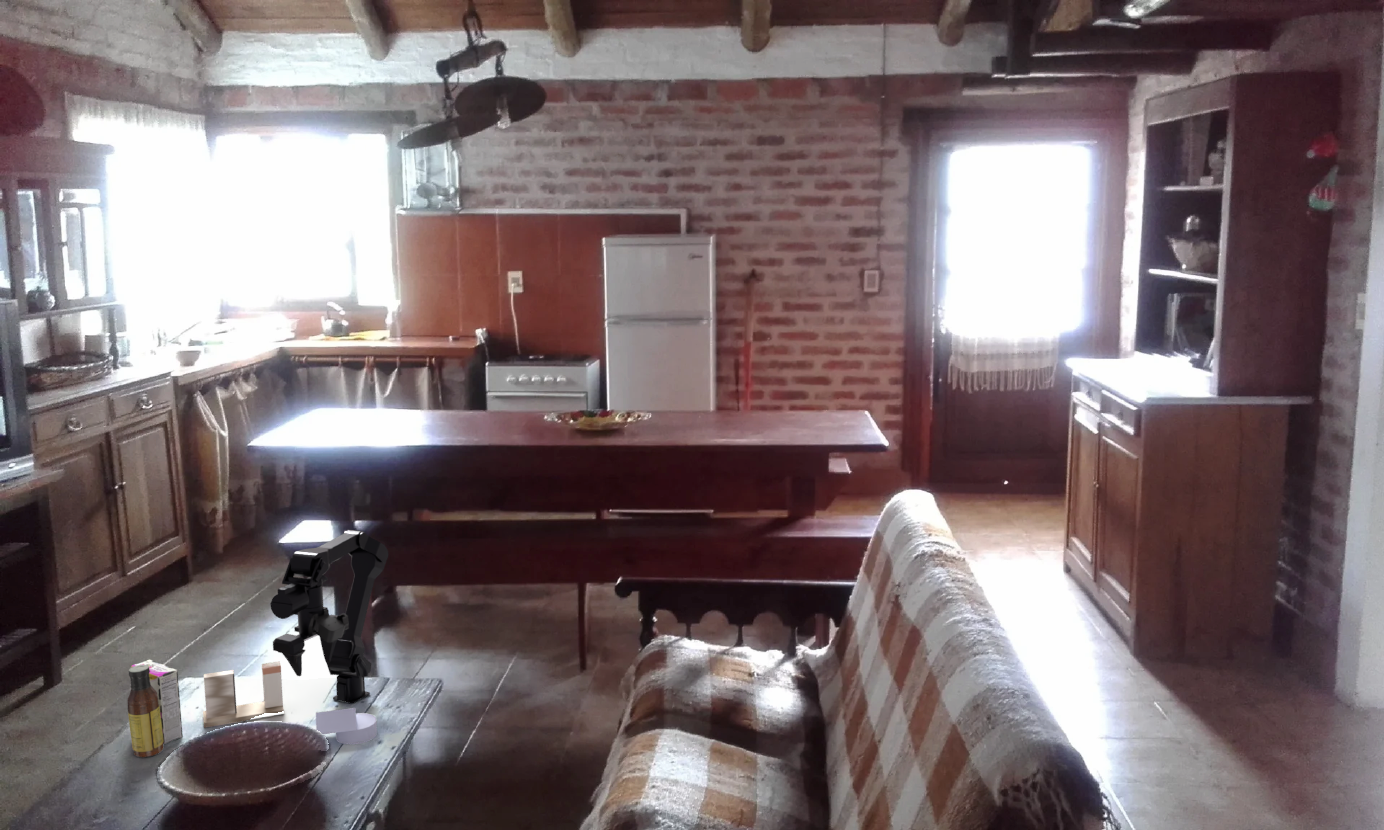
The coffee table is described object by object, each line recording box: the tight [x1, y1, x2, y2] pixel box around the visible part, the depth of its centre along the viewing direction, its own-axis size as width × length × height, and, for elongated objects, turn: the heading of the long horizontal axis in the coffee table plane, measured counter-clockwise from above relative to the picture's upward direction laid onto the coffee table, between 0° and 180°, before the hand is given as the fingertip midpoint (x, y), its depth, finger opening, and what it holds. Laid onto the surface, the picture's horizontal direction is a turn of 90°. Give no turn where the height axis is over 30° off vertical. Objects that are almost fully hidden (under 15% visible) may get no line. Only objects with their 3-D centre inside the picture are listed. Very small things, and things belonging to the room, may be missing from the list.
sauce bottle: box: [127, 665, 164, 758], centre depth 240 cm, size 6×6×20 cm
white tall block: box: [261, 661, 284, 708], centre depth 262 cm, size 4×3×10 cm
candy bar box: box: [130, 659, 184, 745], centre depth 249 cm, size 11×5×16 cm, turn 58°
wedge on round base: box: [315, 707, 378, 745], centre depth 250 cm, size 9×7×13 cm
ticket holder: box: [202, 669, 285, 729], centre depth 260 cm, size 18×7×11 cm, turn 115°
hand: (313, 668), depth 256 cm, fingers open, 9 cm apart
